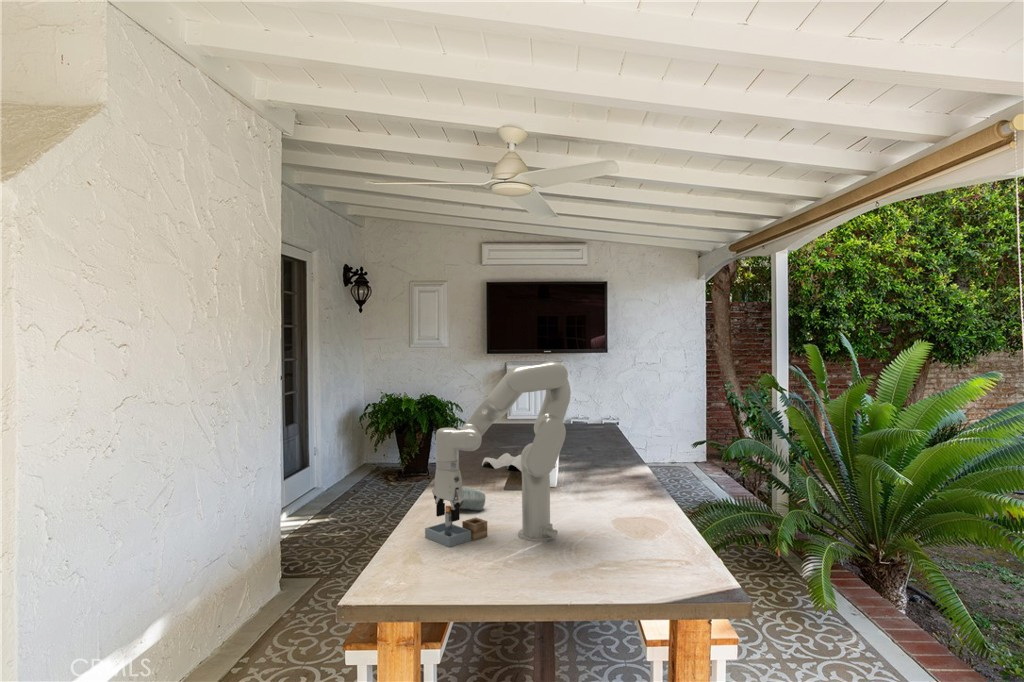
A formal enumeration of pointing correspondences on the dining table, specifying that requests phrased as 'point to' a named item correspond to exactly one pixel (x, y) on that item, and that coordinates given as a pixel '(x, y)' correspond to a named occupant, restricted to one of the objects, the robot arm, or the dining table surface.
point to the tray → (457, 536)
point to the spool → (473, 499)
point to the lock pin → (448, 521)
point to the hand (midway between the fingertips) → (447, 517)
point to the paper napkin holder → (504, 461)
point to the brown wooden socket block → (476, 527)
